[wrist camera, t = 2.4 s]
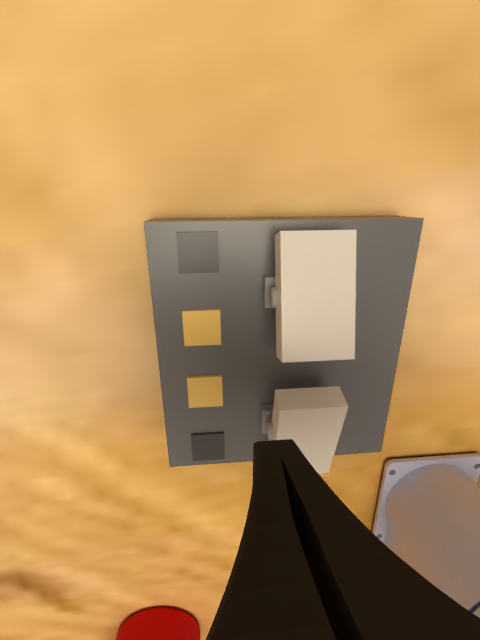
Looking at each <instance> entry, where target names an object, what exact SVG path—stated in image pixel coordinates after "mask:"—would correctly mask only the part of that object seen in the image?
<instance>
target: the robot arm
mask: <svg viewBox="0 0 480 640" xmlns="http://www.w3.org/2000/svg"><path fill="white" fill-rule="evenodd" d="M391 470H392V471H391ZM479 475H480V453H471V454H457V455H443V456H430V457H416V458H402V459H391V460H388V461H387V462H386V463H385V467H384V472H383V478H382V483H381V488H380V493H379V498H378V504H377V509H376V514H375V519H374V525H373V530H372V532H371V531H370V530H369V529H368V528H367V527H366V526H365V525H364V524H363V523H362V522H361V521H360V520H359V519H358V518H357V517H356V516H355V515H354V514H353V513H352V512H351V511H350V510H349V509H348V508H347V507H346V505H345V504H344V503H343V502H342V501H341V500H340V499H339V498H338V497H337V495H336V494H335V493H334V492H333V491H332V490H331V488H330V487H329V486H328V485H327V484H326V483H325V481H324V480H323V479H322V478H321V477H320V475H319V474H318V473H317V472H316V470H315V469H314V468H313V466H312V465H311V464H310V462H309V461H308V460H307V458H306V457H305V456H304V454H303V453H302V452H301V450H300V449H299V447H298V446H297V444H296V443H295V442H294V441H293V440H292V439H285V440H270V441H257V442H255V443H254V444H253V488H252V495H251V500H250V505H249V510H248V515H247V520H246V524H245V528H244V532H243V536H242V539H241V543H240V546H239V550H238V553H237V556H236V560H235V563H234V566H233V569H232V572H231V575H230V578H229V581H228V584H227V587H226V590H225V592H224V595H223V597H222V600H221V603H220V605H219V608H218V611H217V613H216V616H215V618H214V621H213V624H212V626H211V628H210V631H209V633H208V636H207V638H206V640H480V488H479V487H478V486H477V481H478V478H479Z"/></svg>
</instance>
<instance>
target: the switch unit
mask: <svg viewBox="0 0 480 640" xmlns="http://www.w3.org/2000/svg"><path fill="white" fill-rule="evenodd" d="M423 219H424V218H415V217H405V216H339V217H254V218H170V219H150V220H148V221H145V222H144V227H145V237H146V246H147V256H148V265H149V275H150V284H151V293H152V303H153V312H154V322H155V331H156V341H157V350H158V360H159V369H160V379H161V388H162V398H163V407H164V417H165V426H166V436H167V445H168V454H169V464H170V467H174V466H188V465H202V464H216V463H230V462H244V461H253V444H254V443H255V442H257V441H268V437H267V423H270V422H272V414H273V405H274V395H275V390H276V389H294V388H313V387H331V386H339V387H340V389H341V391H342V393H343V395H344V397H345V400H346V402H347V404H348V406H349V407H348V410H347V413H346V417H345V420H344V423H343V427H342V430H341V433H340V437H339V440H338V443H337V446H336V450H335V453H334V455H343V454H357V453H371V452H381V449H382V443H383V438H384V432H385V427H386V421H387V416H388V410H389V405H390V399H391V394H392V389H393V383H394V378H395V372H396V367H397V361H398V356H399V350H400V345H401V339H402V334H403V328H404V323H405V317H406V312H407V307H408V301H409V296H410V290H411V285H412V279H413V274H414V268H415V263H416V257H417V252H418V246H419V241H420V235H421V230H422V225H423ZM307 230H357V233H356V306H355V359H348V360H327V361H306V362H285V363H282V362H281V361H280V360H279V358H278V357H277V356H276V308H272V307H271V302H270V291H271V287H275V235H276V234H277V233H278V232H280V231H307Z"/></svg>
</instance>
